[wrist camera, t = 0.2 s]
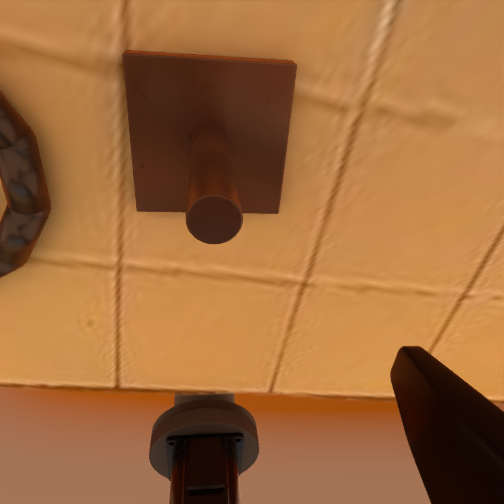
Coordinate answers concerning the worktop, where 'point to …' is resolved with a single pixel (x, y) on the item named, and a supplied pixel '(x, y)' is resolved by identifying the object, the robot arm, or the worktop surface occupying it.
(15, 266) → the ring
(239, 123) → the post
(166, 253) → the worktop surface
